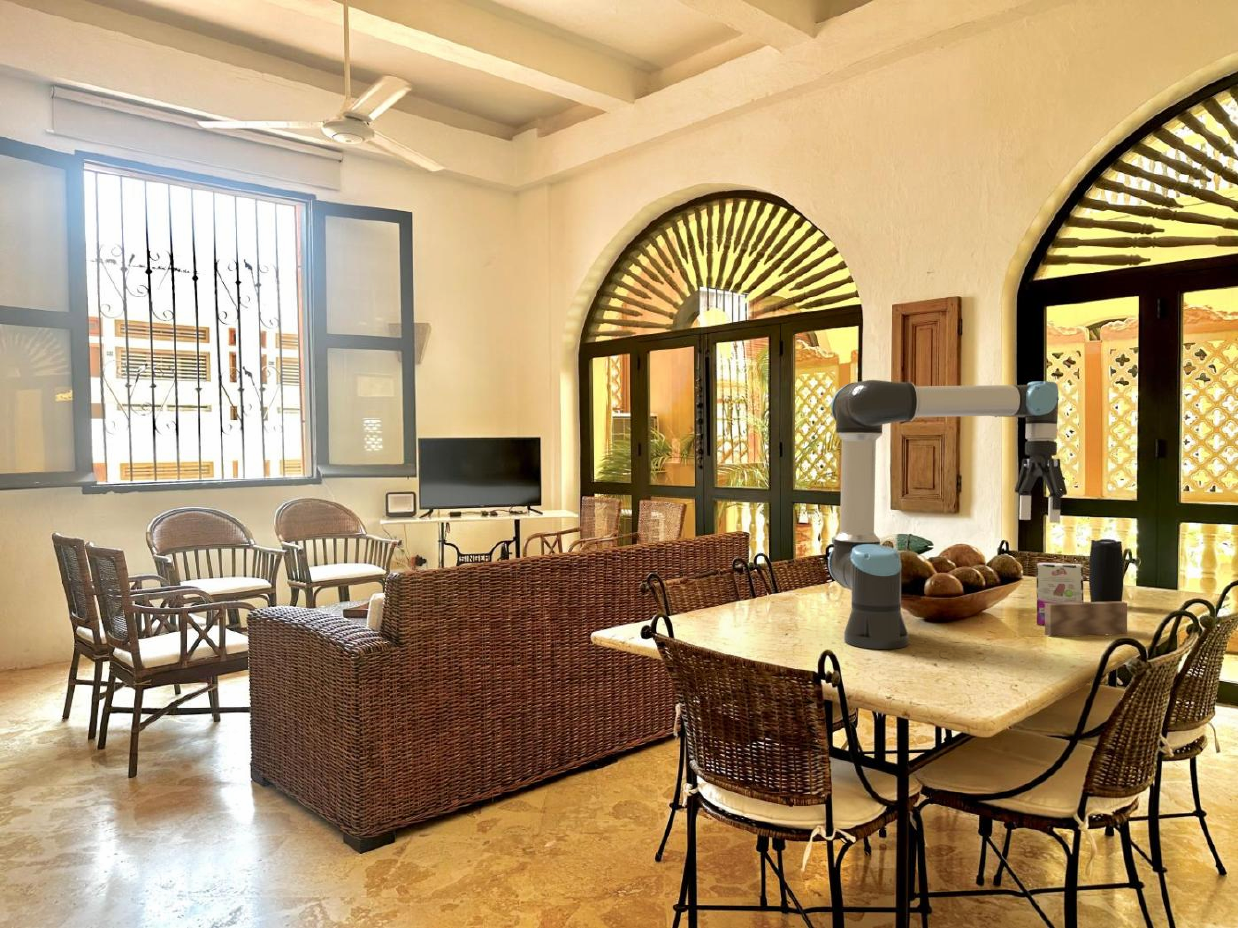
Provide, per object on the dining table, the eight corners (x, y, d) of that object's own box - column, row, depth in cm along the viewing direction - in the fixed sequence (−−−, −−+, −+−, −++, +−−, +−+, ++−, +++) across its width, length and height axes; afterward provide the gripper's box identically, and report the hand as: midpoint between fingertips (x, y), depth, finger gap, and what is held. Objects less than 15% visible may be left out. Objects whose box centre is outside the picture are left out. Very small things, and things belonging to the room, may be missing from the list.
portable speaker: (1087, 607, 253) (1087, 541, 252) (1092, 602, 260) (1092, 538, 260) (1120, 610, 247) (1120, 542, 247) (1125, 605, 255) (1125, 539, 255)
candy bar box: (1083, 625, 230) (1083, 563, 229) (1083, 628, 225) (1084, 566, 225) (1036, 621, 235) (1037, 561, 235) (1036, 625, 231) (1036, 563, 230)
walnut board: (1050, 636, 217) (1050, 604, 217) (1044, 634, 219) (1044, 603, 219) (1127, 634, 218) (1127, 603, 218) (1120, 632, 221) (1120, 601, 220)
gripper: (1083, 439, 216) (1081, 524, 216) (1028, 442, 241) (1026, 518, 241) (1054, 438, 215) (1052, 523, 215) (1002, 441, 240) (1000, 518, 240)
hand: (1039, 521), depth 228 cm, fingers open, 13 cm apart
